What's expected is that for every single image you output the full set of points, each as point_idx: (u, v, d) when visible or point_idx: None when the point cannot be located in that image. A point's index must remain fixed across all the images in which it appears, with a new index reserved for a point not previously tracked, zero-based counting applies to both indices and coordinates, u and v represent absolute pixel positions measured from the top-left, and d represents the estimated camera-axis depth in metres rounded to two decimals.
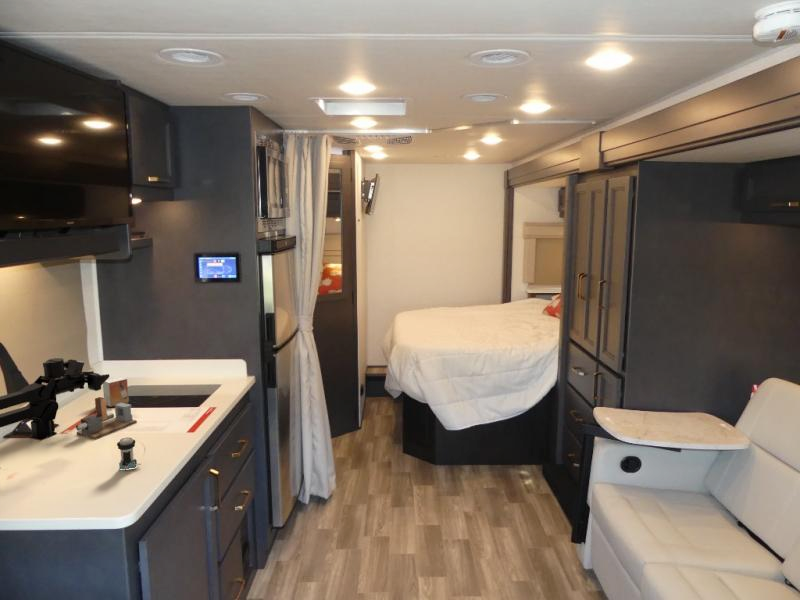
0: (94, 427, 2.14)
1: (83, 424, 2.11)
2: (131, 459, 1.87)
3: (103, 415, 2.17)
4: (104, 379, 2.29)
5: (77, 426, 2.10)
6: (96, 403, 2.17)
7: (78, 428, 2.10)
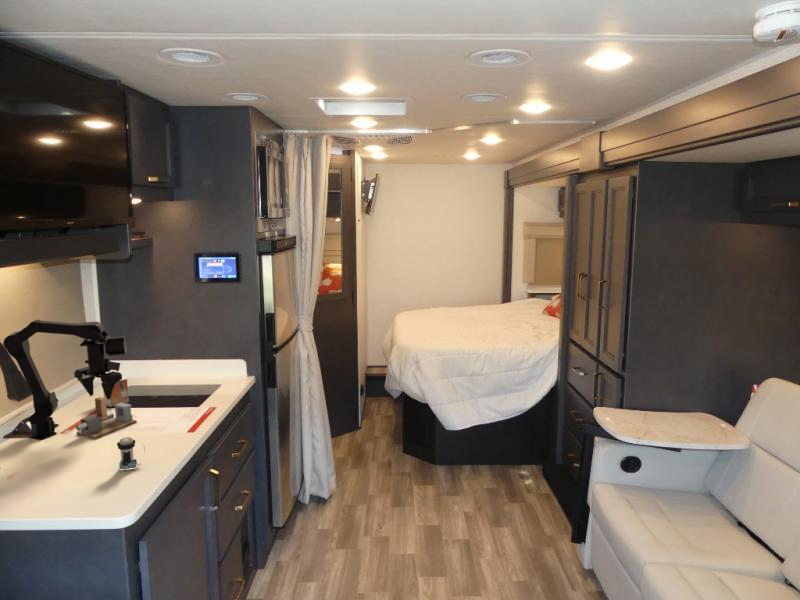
0: (94, 427, 2.14)
1: (83, 424, 2.11)
2: (131, 459, 1.87)
3: (103, 415, 2.17)
4: (108, 392, 2.14)
5: (77, 426, 2.10)
6: (96, 403, 2.17)
7: (78, 428, 2.10)
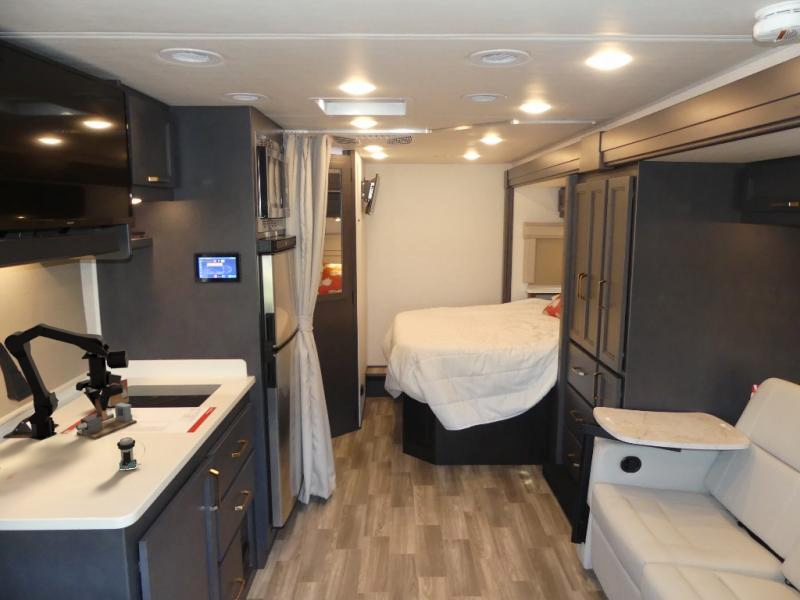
0: (94, 427, 2.14)
1: (83, 424, 2.11)
2: (131, 459, 1.87)
3: (103, 415, 2.17)
4: (104, 404, 2.16)
5: (77, 426, 2.10)
6: (96, 403, 2.17)
7: (78, 428, 2.10)
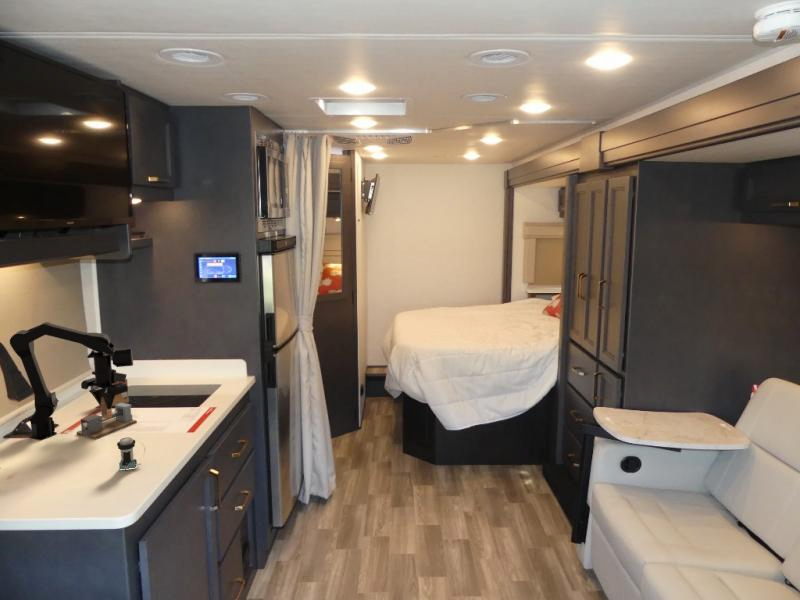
0: (94, 427, 2.14)
1: None
2: (131, 459, 1.87)
3: (108, 413, 2.19)
4: (109, 402, 2.18)
5: (82, 424, 2.12)
6: (101, 401, 2.19)
7: (83, 426, 2.12)
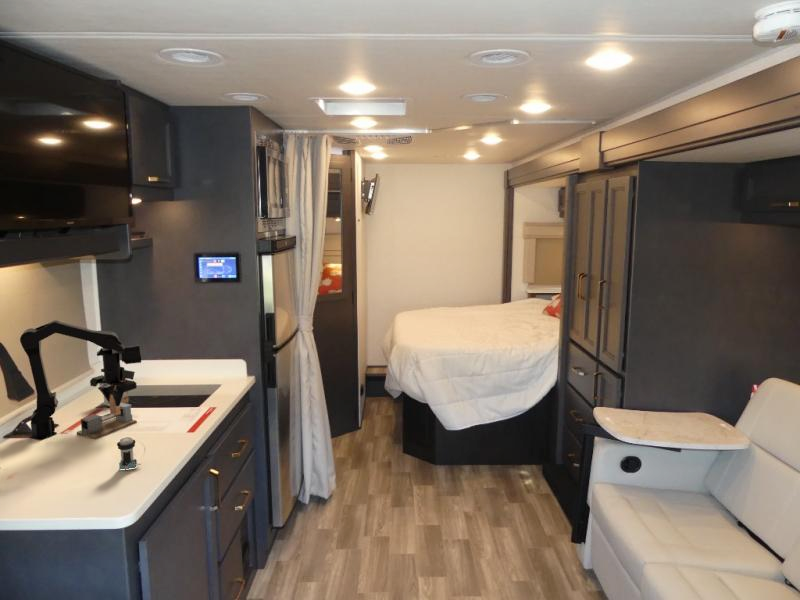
0: (94, 427, 2.14)
1: None
2: (131, 459, 1.87)
3: (117, 410, 2.23)
4: (118, 399, 2.21)
5: None
6: (110, 398, 2.23)
7: None
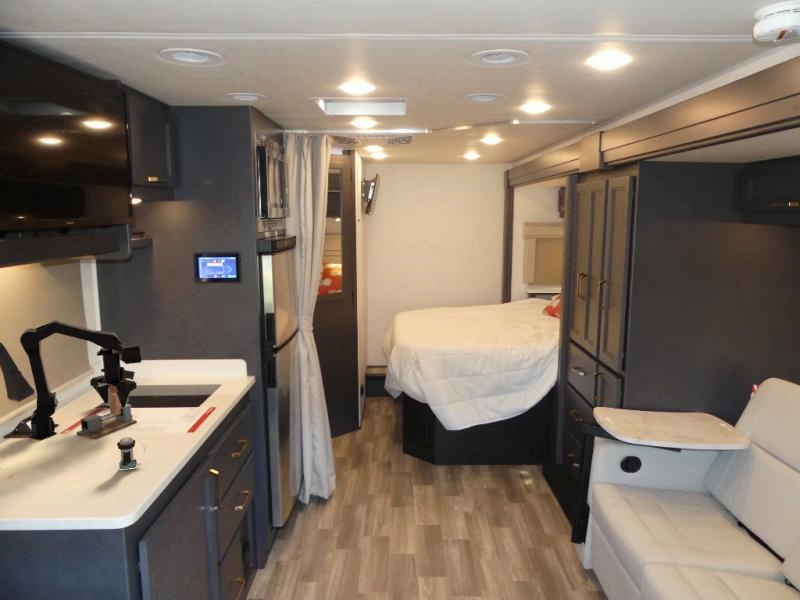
0: (94, 427, 2.14)
1: None
2: (131, 459, 1.87)
3: (117, 410, 2.23)
4: (123, 400, 2.20)
5: None
6: (110, 398, 2.23)
7: None
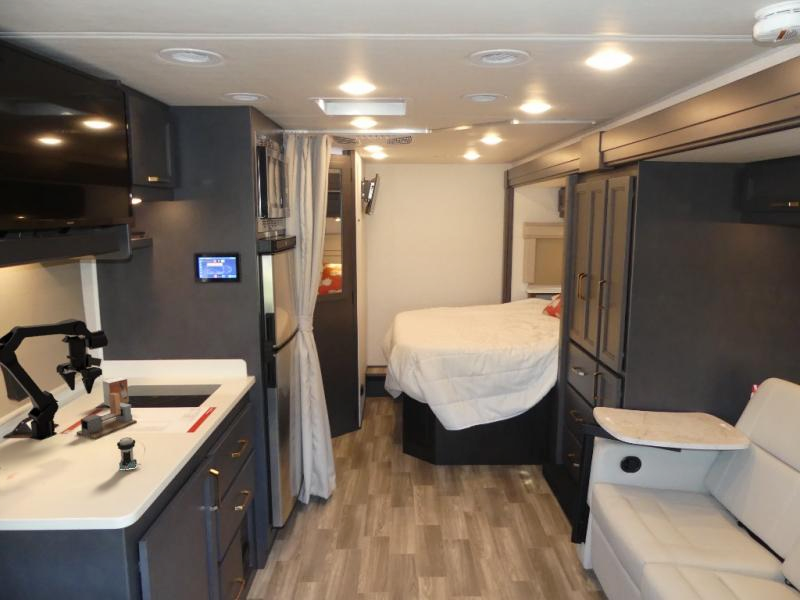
0: (94, 427, 2.14)
1: None
2: (131, 459, 1.87)
3: (117, 410, 2.23)
4: (88, 387, 2.20)
5: None
6: (110, 398, 2.23)
7: None
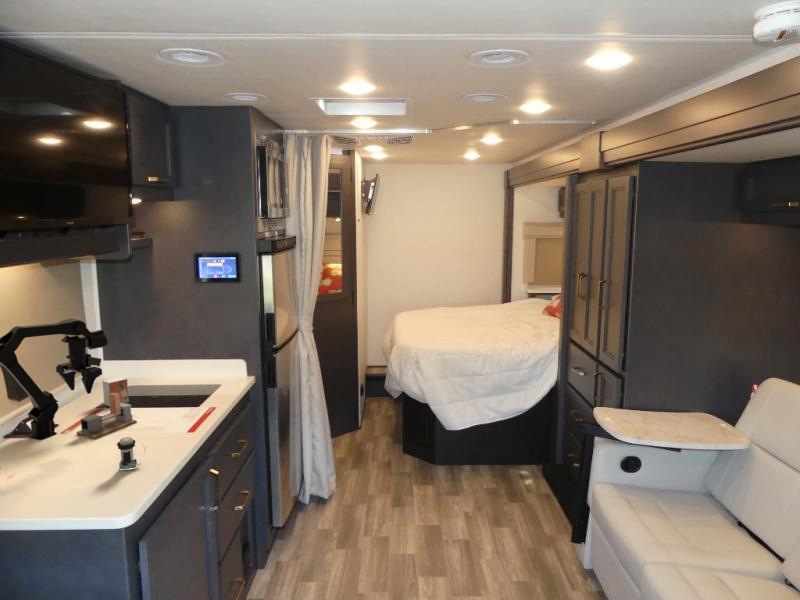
0: (94, 427, 2.14)
1: None
2: (131, 459, 1.87)
3: (117, 410, 2.23)
4: (88, 386, 2.20)
5: None
6: (110, 398, 2.23)
7: None
